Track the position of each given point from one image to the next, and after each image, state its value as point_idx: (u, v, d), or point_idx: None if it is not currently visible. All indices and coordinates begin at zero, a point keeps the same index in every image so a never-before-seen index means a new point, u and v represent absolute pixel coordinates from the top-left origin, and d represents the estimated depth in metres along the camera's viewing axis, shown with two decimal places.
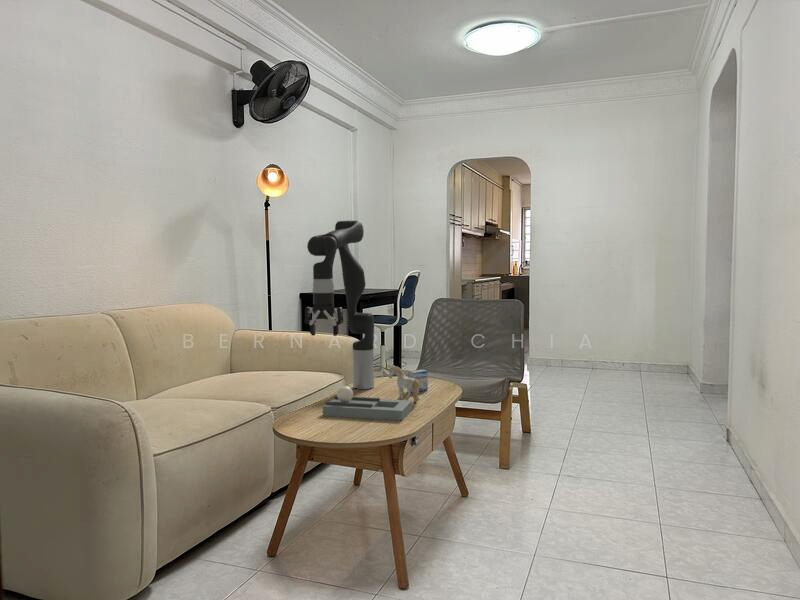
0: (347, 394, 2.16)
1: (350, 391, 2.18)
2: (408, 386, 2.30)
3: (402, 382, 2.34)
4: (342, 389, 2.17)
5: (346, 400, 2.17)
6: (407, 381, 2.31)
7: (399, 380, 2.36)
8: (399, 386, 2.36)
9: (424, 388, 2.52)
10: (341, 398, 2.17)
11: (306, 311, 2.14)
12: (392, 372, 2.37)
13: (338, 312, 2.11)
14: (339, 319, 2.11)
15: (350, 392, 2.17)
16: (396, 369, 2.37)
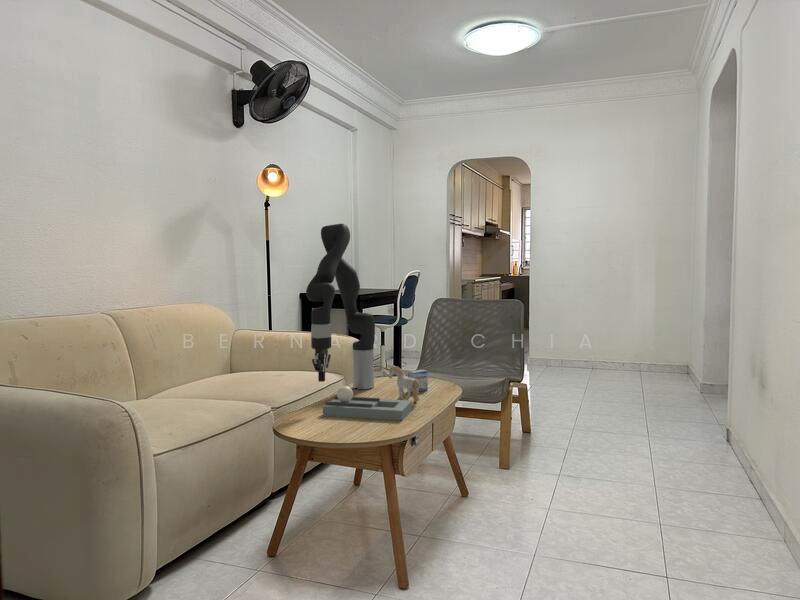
0: (347, 394, 2.16)
1: (350, 391, 2.18)
2: (408, 386, 2.30)
3: (402, 382, 2.34)
4: (342, 389, 2.17)
5: (346, 400, 2.17)
6: (407, 381, 2.31)
7: (399, 380, 2.36)
8: (399, 386, 2.36)
9: (424, 388, 2.52)
10: (341, 398, 2.17)
11: (319, 362, 2.15)
12: (392, 372, 2.37)
13: (329, 358, 2.25)
14: (327, 364, 2.24)
15: (350, 392, 2.17)
16: (396, 369, 2.37)
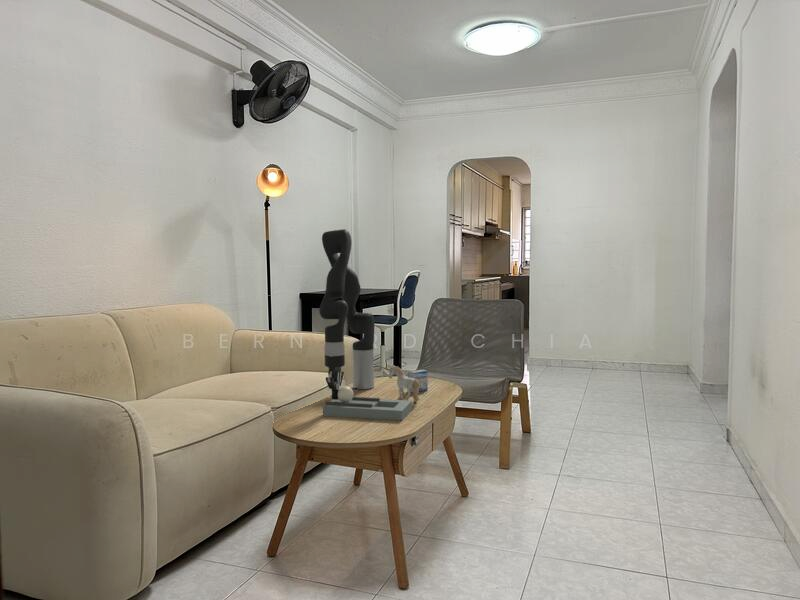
0: (347, 395, 2.16)
1: (350, 391, 2.18)
2: (408, 386, 2.30)
3: (402, 382, 2.34)
4: (343, 389, 2.17)
5: (346, 400, 2.17)
6: (407, 381, 2.31)
7: (399, 380, 2.36)
8: (399, 386, 2.36)
9: (424, 388, 2.52)
10: (341, 398, 2.17)
11: (333, 380, 2.15)
12: (392, 372, 2.37)
13: (342, 375, 2.24)
14: (341, 381, 2.23)
15: (350, 392, 2.17)
16: (396, 369, 2.37)
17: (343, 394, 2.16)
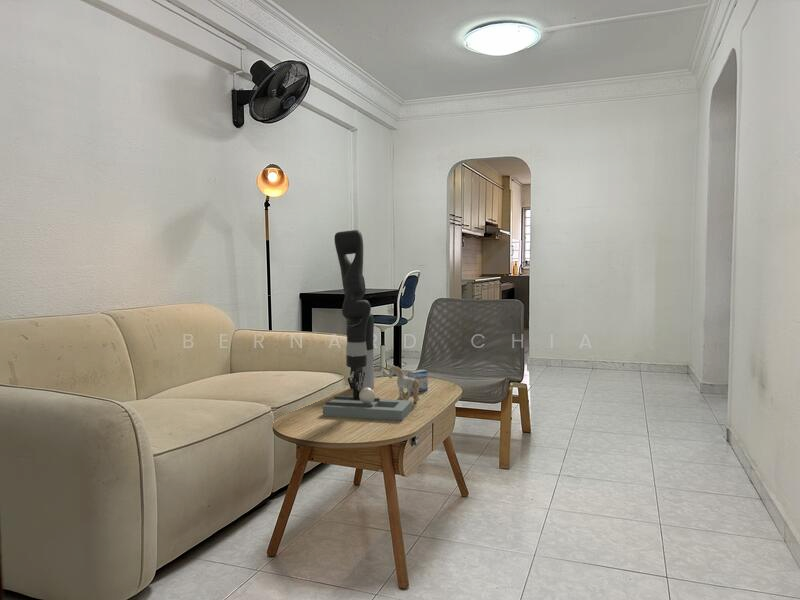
0: (363, 401, 2.15)
1: (366, 403, 2.16)
2: (408, 386, 2.30)
3: (402, 382, 2.34)
4: (370, 399, 2.14)
5: (359, 397, 2.16)
6: (407, 381, 2.31)
7: (399, 380, 2.36)
8: (399, 386, 2.36)
9: (424, 388, 2.52)
10: (362, 394, 2.14)
11: (355, 381, 2.12)
12: (392, 372, 2.37)
13: (363, 376, 2.21)
14: (362, 382, 2.20)
15: None
16: (396, 369, 2.37)
17: (365, 398, 2.14)
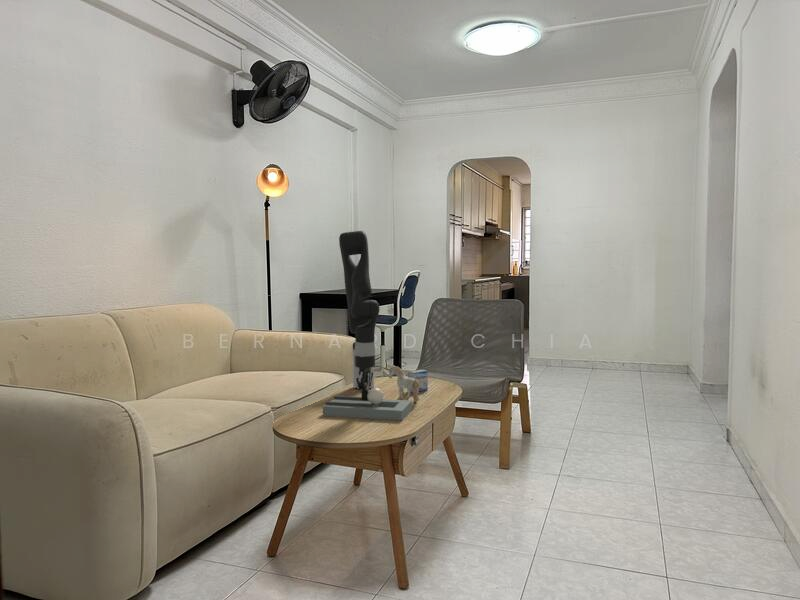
0: (369, 400, 2.14)
1: (370, 402, 2.16)
2: (408, 386, 2.30)
3: (402, 382, 2.34)
4: (377, 402, 2.14)
5: (368, 394, 2.15)
6: (407, 381, 2.31)
7: (399, 380, 2.36)
8: (399, 386, 2.36)
9: (424, 388, 2.52)
10: (372, 394, 2.13)
11: (363, 381, 2.11)
12: (392, 372, 2.37)
13: (371, 376, 2.21)
14: (370, 382, 2.19)
15: (370, 402, 2.16)
16: (396, 369, 2.37)
17: (372, 399, 2.13)
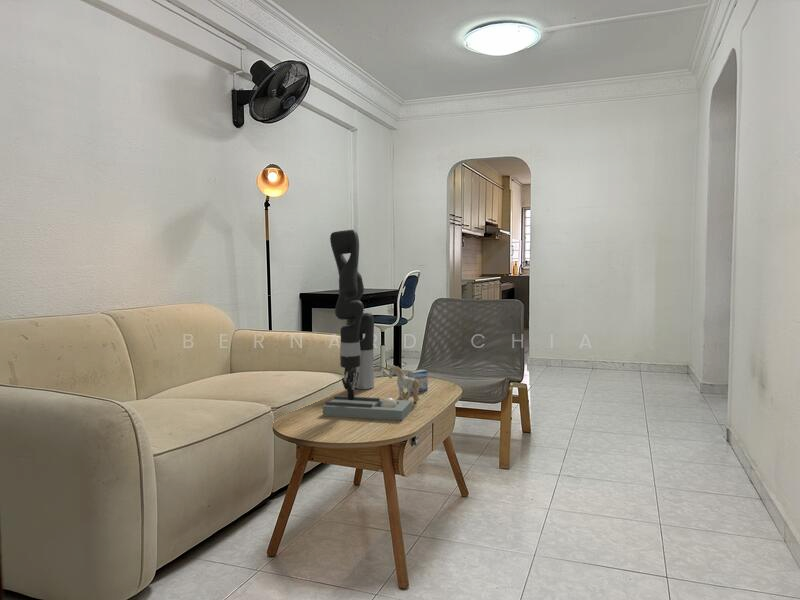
0: (386, 402, 2.13)
1: (384, 399, 2.14)
2: (408, 386, 2.30)
3: (402, 382, 2.34)
4: None
5: (393, 403, 2.13)
6: (407, 381, 2.31)
7: (399, 380, 2.36)
8: (399, 386, 2.36)
9: (424, 388, 2.52)
10: None
11: (349, 381, 2.13)
12: (392, 372, 2.37)
13: (357, 376, 2.22)
14: (356, 382, 2.21)
15: (385, 399, 2.14)
16: (396, 369, 2.37)
17: (386, 406, 2.13)
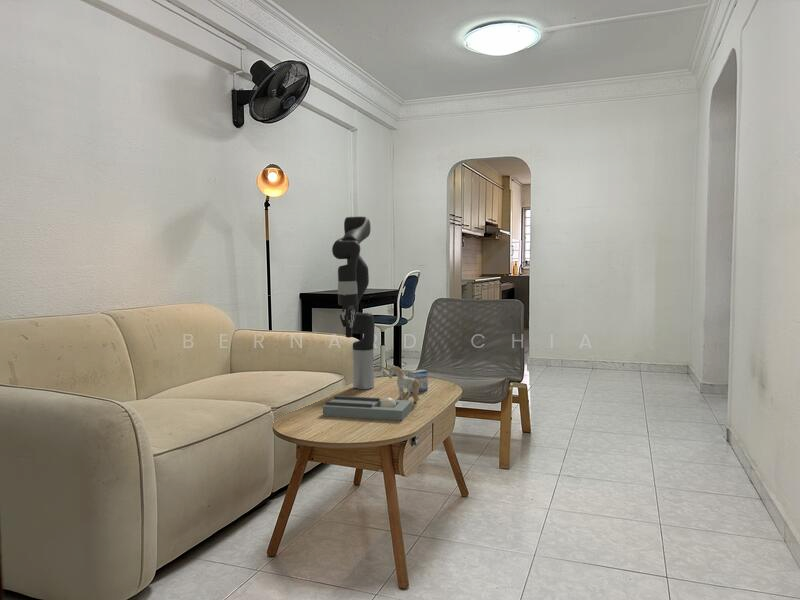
0: (385, 402, 2.13)
1: (383, 400, 2.15)
2: (408, 386, 2.30)
3: (402, 382, 2.34)
4: None
5: (392, 403, 2.13)
6: (407, 381, 2.31)
7: (399, 380, 2.36)
8: (399, 386, 2.36)
9: (424, 388, 2.52)
10: None
11: (347, 318, 2.21)
12: (392, 372, 2.37)
13: (355, 315, 2.30)
14: (354, 321, 2.29)
15: (384, 399, 2.14)
16: (396, 369, 2.37)
17: (385, 406, 2.13)
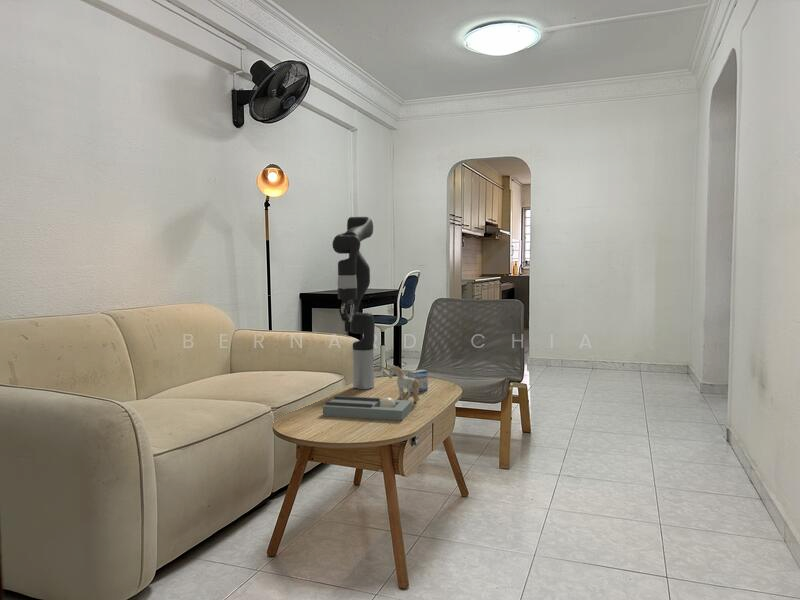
0: (384, 402, 2.13)
1: (382, 400, 2.15)
2: (408, 386, 2.30)
3: (402, 382, 2.34)
4: None
5: (391, 402, 2.13)
6: (407, 381, 2.31)
7: (399, 380, 2.36)
8: (399, 386, 2.36)
9: (424, 388, 2.52)
10: (389, 407, 2.13)
11: (346, 312, 2.22)
12: (392, 372, 2.37)
13: (354, 309, 2.31)
14: (353, 315, 2.30)
15: (383, 400, 2.14)
16: (396, 369, 2.37)
17: (384, 406, 2.13)
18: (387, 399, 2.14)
